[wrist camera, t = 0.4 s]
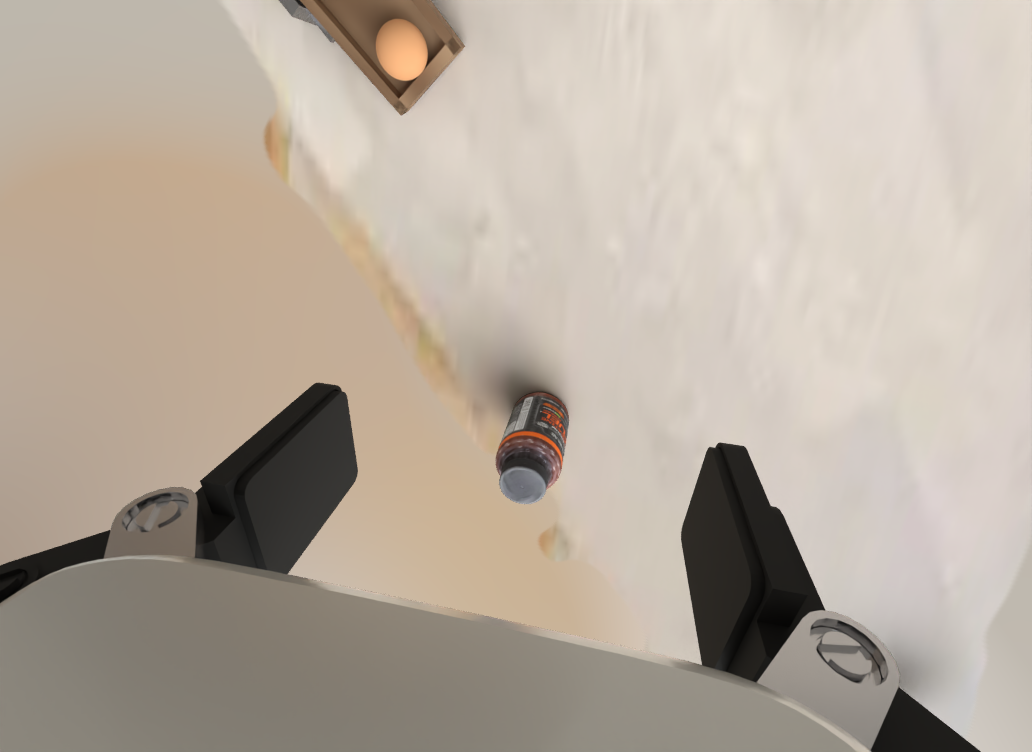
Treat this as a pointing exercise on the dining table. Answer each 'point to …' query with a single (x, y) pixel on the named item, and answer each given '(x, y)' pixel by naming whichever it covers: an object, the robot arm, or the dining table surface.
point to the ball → (401, 49)
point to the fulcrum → (303, 14)
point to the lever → (355, 25)
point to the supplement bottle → (532, 447)
